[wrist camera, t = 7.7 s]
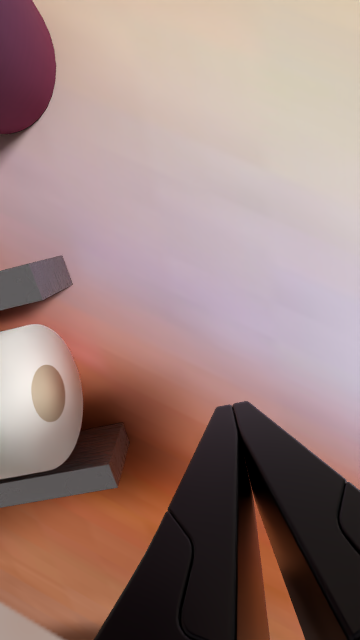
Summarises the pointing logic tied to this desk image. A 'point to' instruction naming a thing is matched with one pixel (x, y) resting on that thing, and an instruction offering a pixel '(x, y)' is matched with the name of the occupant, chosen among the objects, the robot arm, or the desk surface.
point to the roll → (37, 401)
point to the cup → (24, 65)
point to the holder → (93, 444)
